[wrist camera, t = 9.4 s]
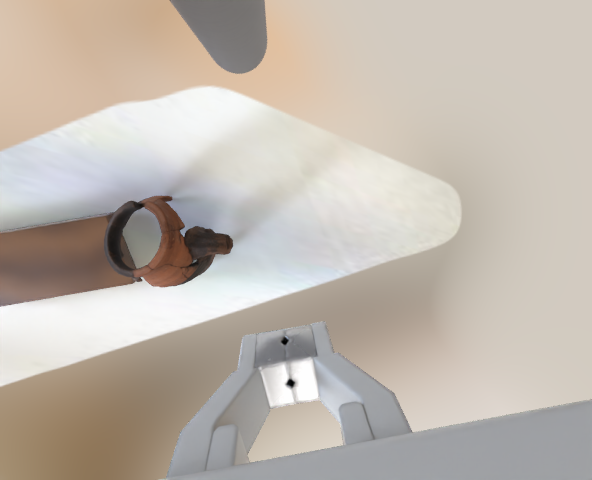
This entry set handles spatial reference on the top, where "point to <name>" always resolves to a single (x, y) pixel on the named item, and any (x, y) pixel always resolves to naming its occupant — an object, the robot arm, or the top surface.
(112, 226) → the pottery mug
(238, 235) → the top surface
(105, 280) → the cutting board
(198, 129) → the top surface
